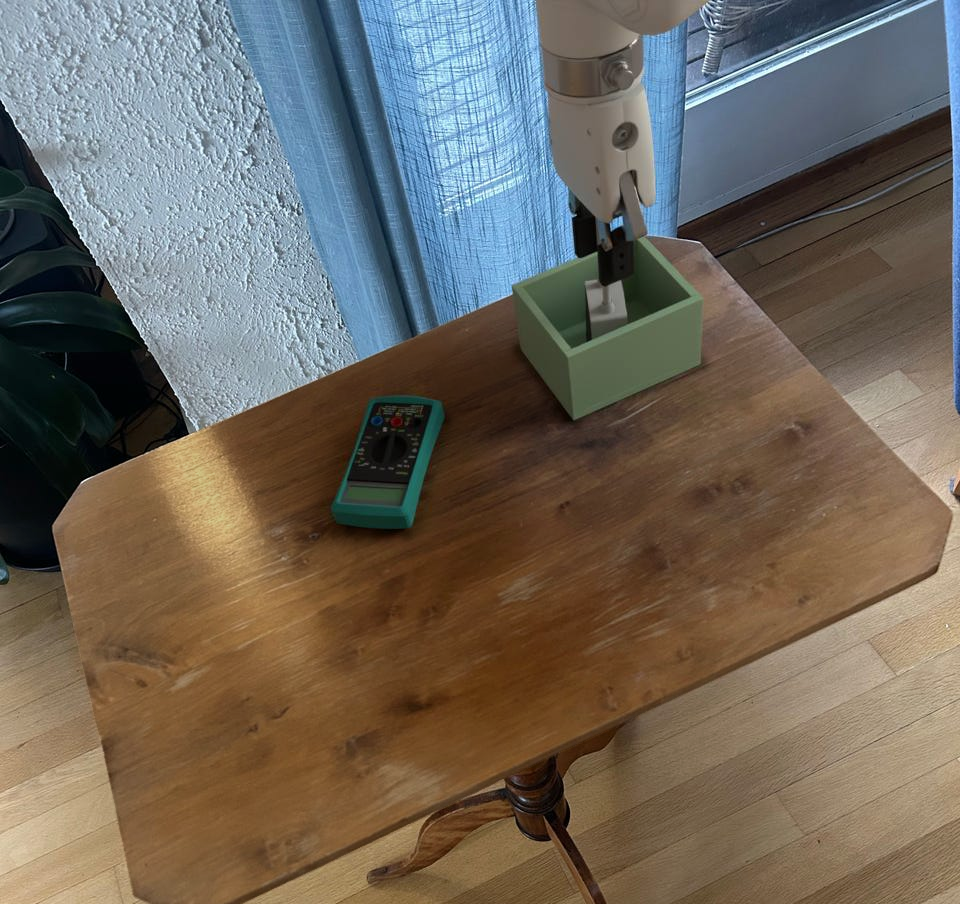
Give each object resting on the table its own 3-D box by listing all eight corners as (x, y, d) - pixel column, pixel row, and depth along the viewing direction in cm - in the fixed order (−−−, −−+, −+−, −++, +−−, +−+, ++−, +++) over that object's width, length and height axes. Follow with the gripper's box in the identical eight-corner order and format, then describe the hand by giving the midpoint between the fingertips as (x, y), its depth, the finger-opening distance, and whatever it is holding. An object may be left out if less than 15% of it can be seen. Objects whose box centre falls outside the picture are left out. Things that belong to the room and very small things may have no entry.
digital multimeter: (448, 413, 99) (442, 391, 97) (412, 534, 92) (405, 513, 89) (376, 410, 101) (369, 388, 98) (335, 529, 93) (326, 508, 91)
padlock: (634, 368, 97) (630, 230, 84) (590, 375, 97) (579, 238, 85) (626, 321, 101) (620, 183, 88) (583, 328, 101) (571, 190, 89)
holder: (700, 364, 98) (703, 298, 91) (573, 421, 96) (567, 357, 90) (640, 297, 104) (639, 230, 97) (520, 349, 102) (511, 285, 96)
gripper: (695, 88, 72) (690, 300, 87) (585, -5, 81) (597, 202, 96) (600, 127, 71) (611, 335, 86) (499, 29, 80) (526, 232, 95)
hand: (604, 263), depth 91 cm, fingers closed on padlock, 3 cm apart
